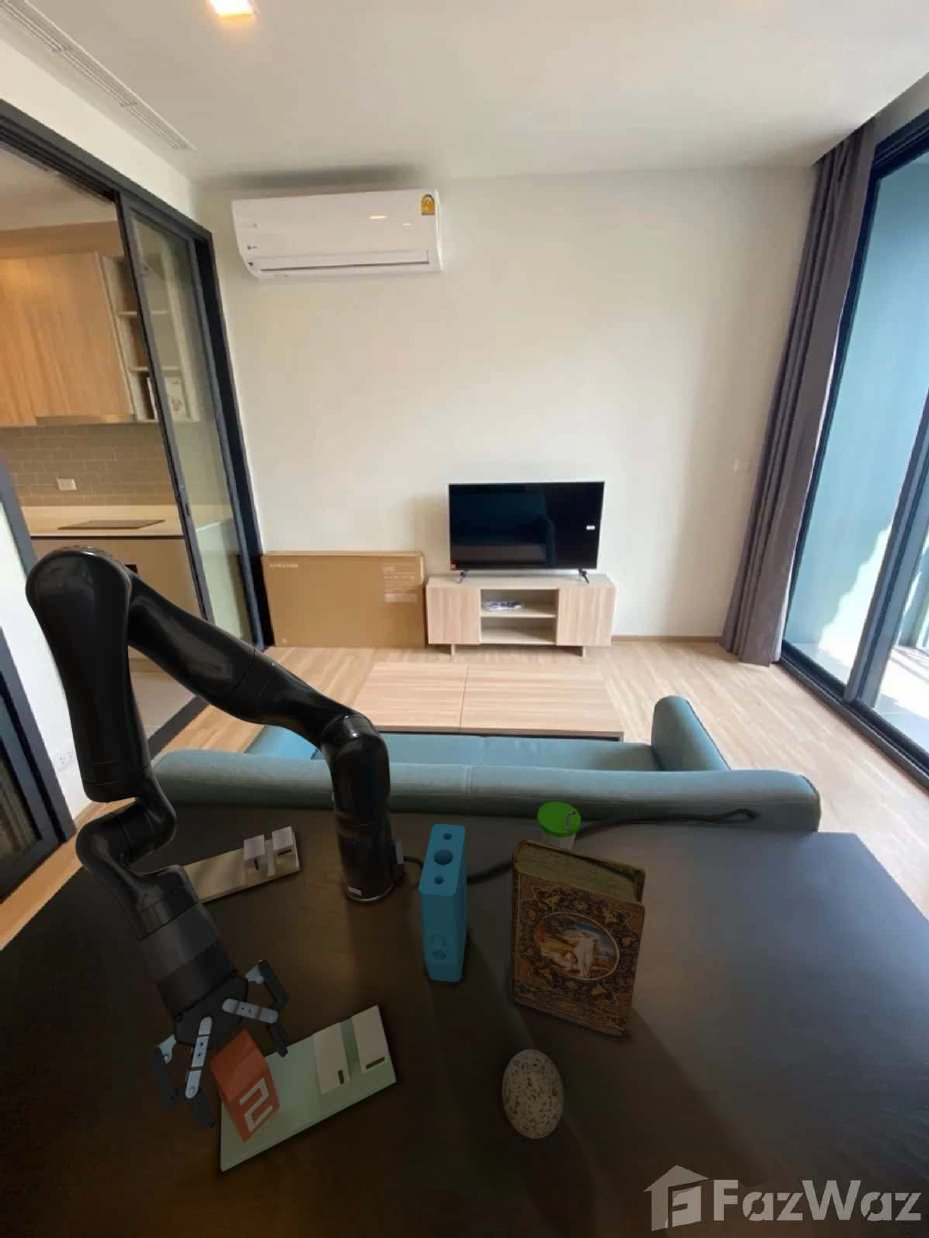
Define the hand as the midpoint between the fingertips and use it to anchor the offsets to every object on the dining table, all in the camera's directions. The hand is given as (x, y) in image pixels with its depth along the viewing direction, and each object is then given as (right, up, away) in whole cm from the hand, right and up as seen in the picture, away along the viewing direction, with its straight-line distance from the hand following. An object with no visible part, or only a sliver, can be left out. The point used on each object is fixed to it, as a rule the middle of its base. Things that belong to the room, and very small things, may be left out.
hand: (250, 1087), depth 57 cm
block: (+22, +2, +20) cm, 30 cm away
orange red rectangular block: (-1, -5, +3) cm, 6 cm away
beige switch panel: (-17, +7, +35) cm, 40 cm away
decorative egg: (+33, -5, +2) cm, 33 cm away
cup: (+42, +9, +36) cm, 56 cm away
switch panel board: (+5, -4, +6) cm, 9 cm away
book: (+39, 0, +14) cm, 42 cm away
